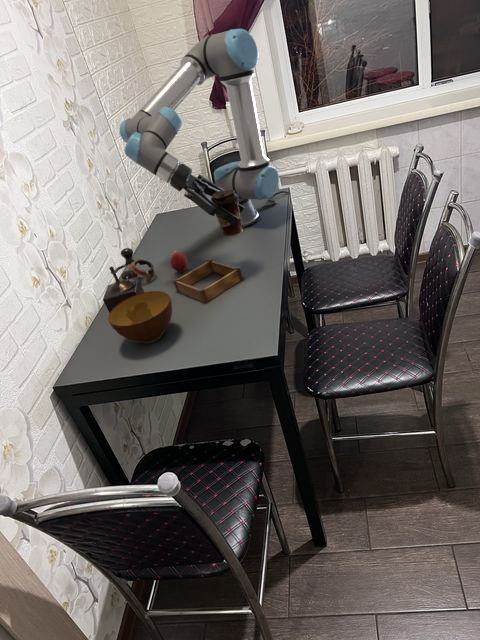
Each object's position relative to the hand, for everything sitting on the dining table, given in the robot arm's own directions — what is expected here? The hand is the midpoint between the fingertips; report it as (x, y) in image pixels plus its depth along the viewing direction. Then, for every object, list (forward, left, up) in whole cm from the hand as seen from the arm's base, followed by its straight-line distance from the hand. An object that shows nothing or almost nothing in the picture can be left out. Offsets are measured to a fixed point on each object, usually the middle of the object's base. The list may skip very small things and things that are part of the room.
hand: (239, 216), depth 146 cm
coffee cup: (+2, -3, -5) cm, 6 cm away
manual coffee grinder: (+36, -19, -19) cm, 45 cm away
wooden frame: (+14, -6, -18) cm, 24 cm away
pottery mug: (+24, -35, -19) cm, 46 cm away
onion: (+12, -25, -19) cm, 33 cm away
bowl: (+42, +2, -19) cm, 46 cm away
